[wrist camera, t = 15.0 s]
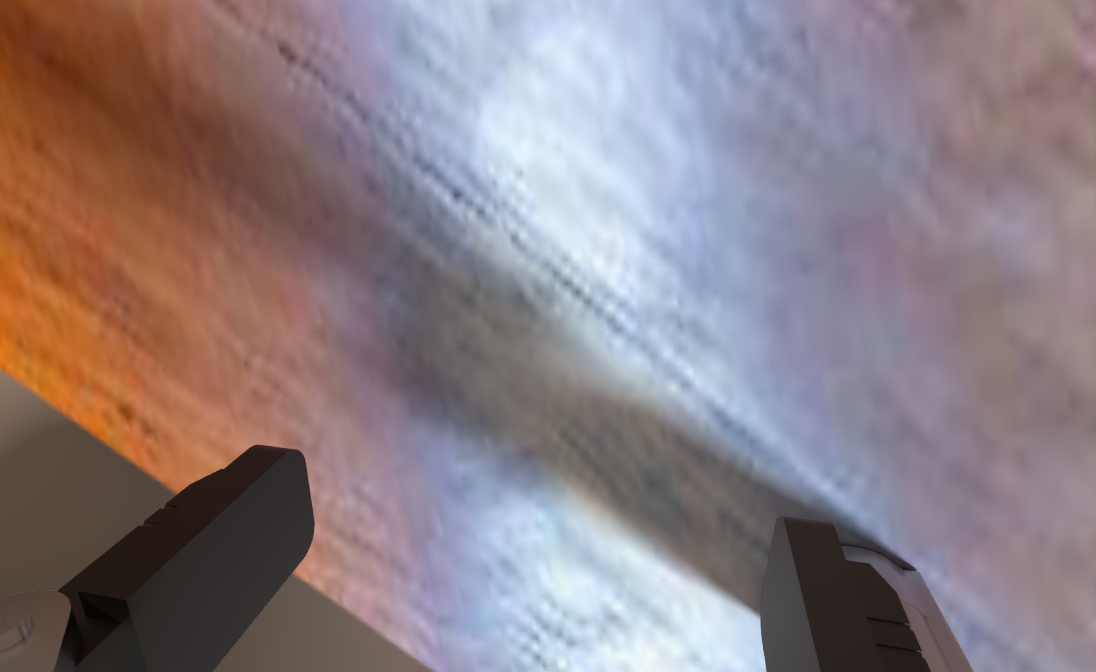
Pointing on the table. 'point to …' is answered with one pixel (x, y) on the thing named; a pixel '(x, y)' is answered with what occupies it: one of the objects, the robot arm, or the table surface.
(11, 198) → the table surface
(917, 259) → the table surface
